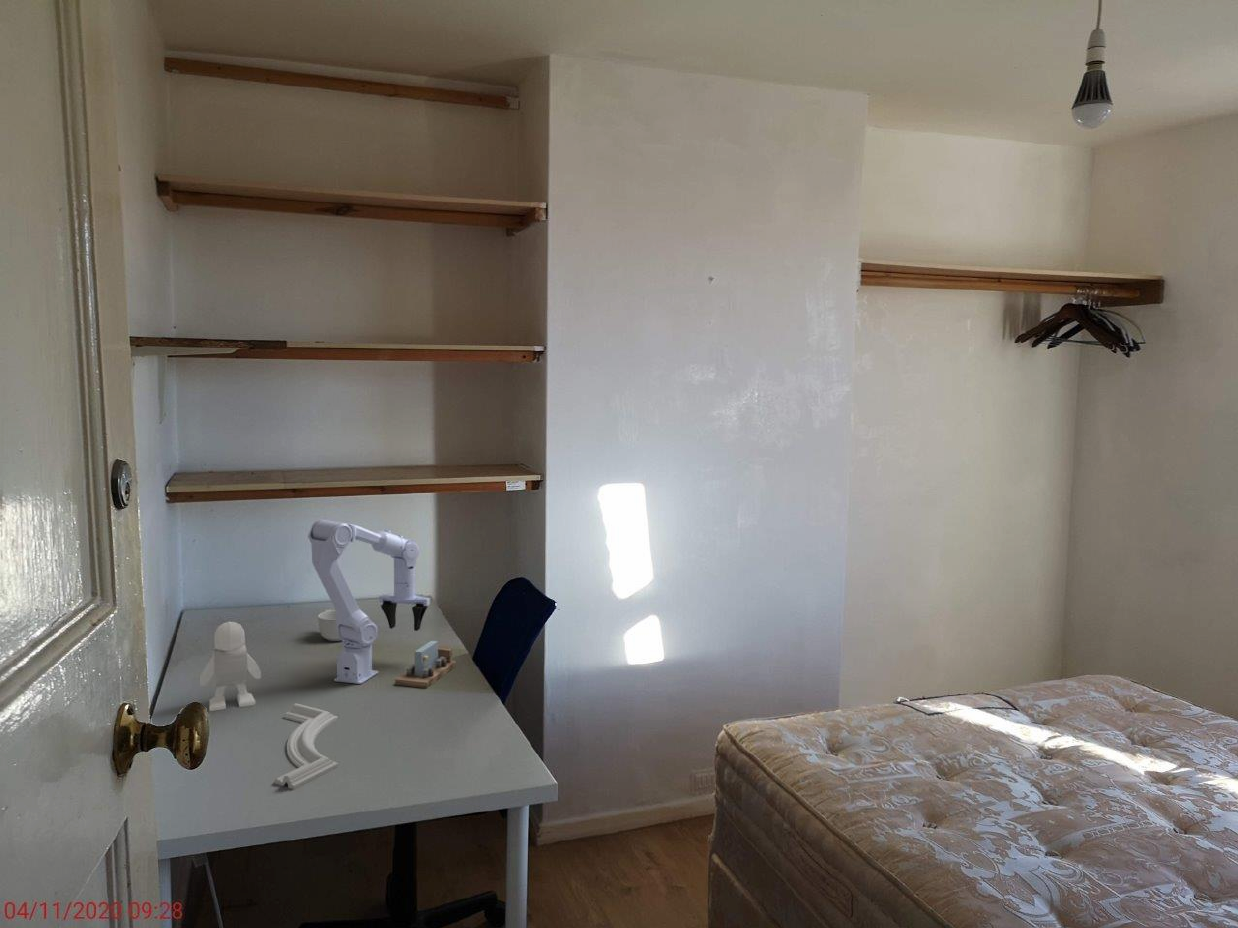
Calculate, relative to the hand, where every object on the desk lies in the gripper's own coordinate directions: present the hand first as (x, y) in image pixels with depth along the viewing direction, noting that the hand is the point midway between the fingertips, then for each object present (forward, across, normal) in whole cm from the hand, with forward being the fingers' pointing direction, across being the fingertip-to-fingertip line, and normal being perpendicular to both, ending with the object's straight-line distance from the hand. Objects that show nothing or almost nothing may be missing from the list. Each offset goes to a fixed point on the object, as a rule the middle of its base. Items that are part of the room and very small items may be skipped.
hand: (404, 628), depth 247 cm
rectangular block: (+8, -11, +9) cm, 16 cm away
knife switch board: (+9, -11, +9) cm, 17 cm away
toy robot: (+10, +26, +40) cm, 49 cm away
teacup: (+10, +31, -15) cm, 36 cm away
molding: (+10, -5, +58) cm, 59 cm away
